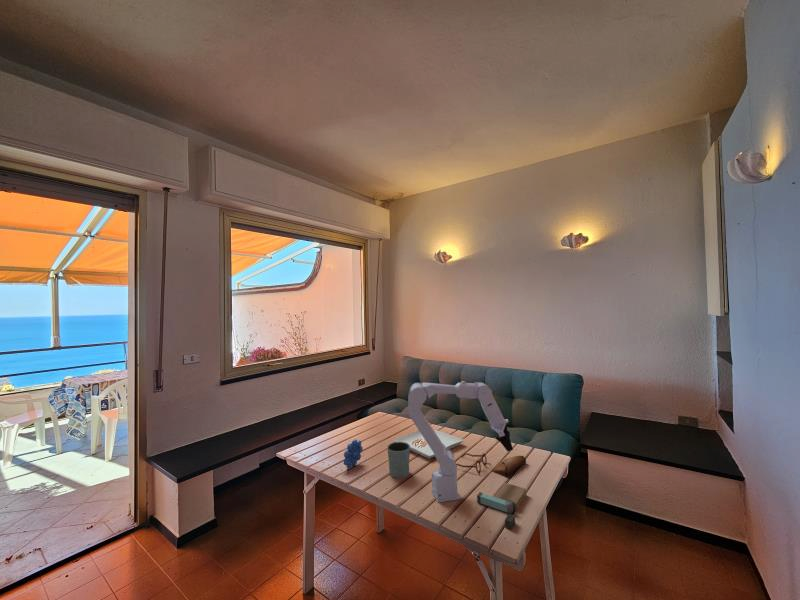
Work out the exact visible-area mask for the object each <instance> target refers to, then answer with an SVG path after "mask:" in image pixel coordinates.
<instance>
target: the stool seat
mask: <svg viewBox="0 0 800 600" xmlns="http://www.w3.org/2000/svg"><path fill="white" fill-rule="evenodd" d="M493 497H496V498H499V499H502V500H505V501H510V502H512V503H513V512H514V511H515V512H518V509H519V508H520V506H521V504H522V503H523V502H524V499H525V498H526V497H527V489H526V488H524V487H522V486H518V485H515V484H510V483H507V482H504V483H503V484H502V486H501V487H500V489H499V490H498V491H497V493H496V494H495V495H494V496H493ZM515 525H516V516H515V515H513V514H512V513H508V514H507V516H506V517H505V519H504V528H505V529H508V530H510V531H511V530H513V528H514V526H515Z"/></svg>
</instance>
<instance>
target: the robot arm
mask: <svg viewBox="0 0 800 600" xmlns="http://www.w3.org/2000/svg"><path fill="white" fill-rule="evenodd" d="M435 394H437V395H438V394H439V395H440V394H441V395H456V397H457V398H460V399H472V400H473V399H478V401H479V402H480V406H481V408H482V411H483V412H484V415H485V416H486V419H487V420H488V422H489V425H490V428H491V429H492V430H493V431H494V432H496V433H497V434H494V438H495V440H497V442H499V443H500V444H501V445H502V446H503V447H504V449H505V450H506V451H507V452H511V451H513V450H514V449H513V444H512V441H511V433H510V430H508V423H509V419H508V418H506V419H505V418H504V416H503V414H502V411H501V409H500V407H499V406H498V404H497V402H496V399H494V396H493V391H492V389H491V388H490V387H489V386H488V385H487V384H485V383H484V382H481V381H480V382H477V381H475V382H474V383H471V382H466V381H465V380H464V381H463V380H461V382H457V383H456V384H455V385H454V384H444V383H443V384H442V383H434V382H422V383H421V382H415V383H413V384H412V385H411V386H410V387H409V390H408V397H407V399H408V400H407V403H408V404H407V406H408V407H407V415H408V416H409V418H410V419H411V421H412V422H413V424H414V425H415V427H416V429H417V431H418V430H419V431H420V433H421V434H422V436H423V437H424V439H425V440H426V442H427V443H428V445H429V446H430V448H431V450H432V451H433V453H434V455H435V459H436V461H437V463H438V464H439V466H438V468H437V470H436V471H434V472H432V474H431V489H432V490H431V493H432V494H433V496H434V498H435V500H436V502H437V503H442V502H449V501H456V500H461V499H462V496H461V495H460V493H459V491H458V470H457V469H458V465H456V464H457V462H456V460H455V455H454V453H453V452H452V450H451V449H447V448H446V447H445V445H444V444H443V443H442V442H441V441H440V439H439V437H438V436H437V434H436V433H435V431H434V430H435V429H433V427H432V426H431V424H430V423H429V421H428V419H427V418H426V417H425V415H424V413H423V412H422V408H423V404H424V403H425V401H426V399H427V396H428V399H431V397H432V396H434V395H435Z"/></svg>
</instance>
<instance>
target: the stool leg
mask: <svg viewBox="0 0 800 600" xmlns="http://www.w3.org/2000/svg"><path fill="white" fill-rule="evenodd" d="M476 502H477V503H478V504H482V505H484V506H487V507H490V508H493V509H496V510H499V511H502V512H504V513H506V514H507V513H508V514H513V513H514V510H513V503H512V502H510V501H505V500H502V499H499V498H496V497H494V496H493V495H489V494H486V493H484V492H481V491H479V493H478V494H476Z"/></svg>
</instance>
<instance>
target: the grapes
mask: <svg viewBox="0 0 800 600" xmlns="http://www.w3.org/2000/svg"><path fill="white" fill-rule="evenodd" d="M346 447H347V450H345V451H344V452H343V457H344V459H343V465H344V466H346V469H348V468H349V469H351V468H353V467H352V466H354V465H358V461H360V460H361V458H362V454H361V453H362V452H363V446H362V441H361V440H360V439H359V440H357V439H356V438H355V439H353V440H351V442H350V443H348V444H347V446H346ZM354 467H355V466H354Z"/></svg>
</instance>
